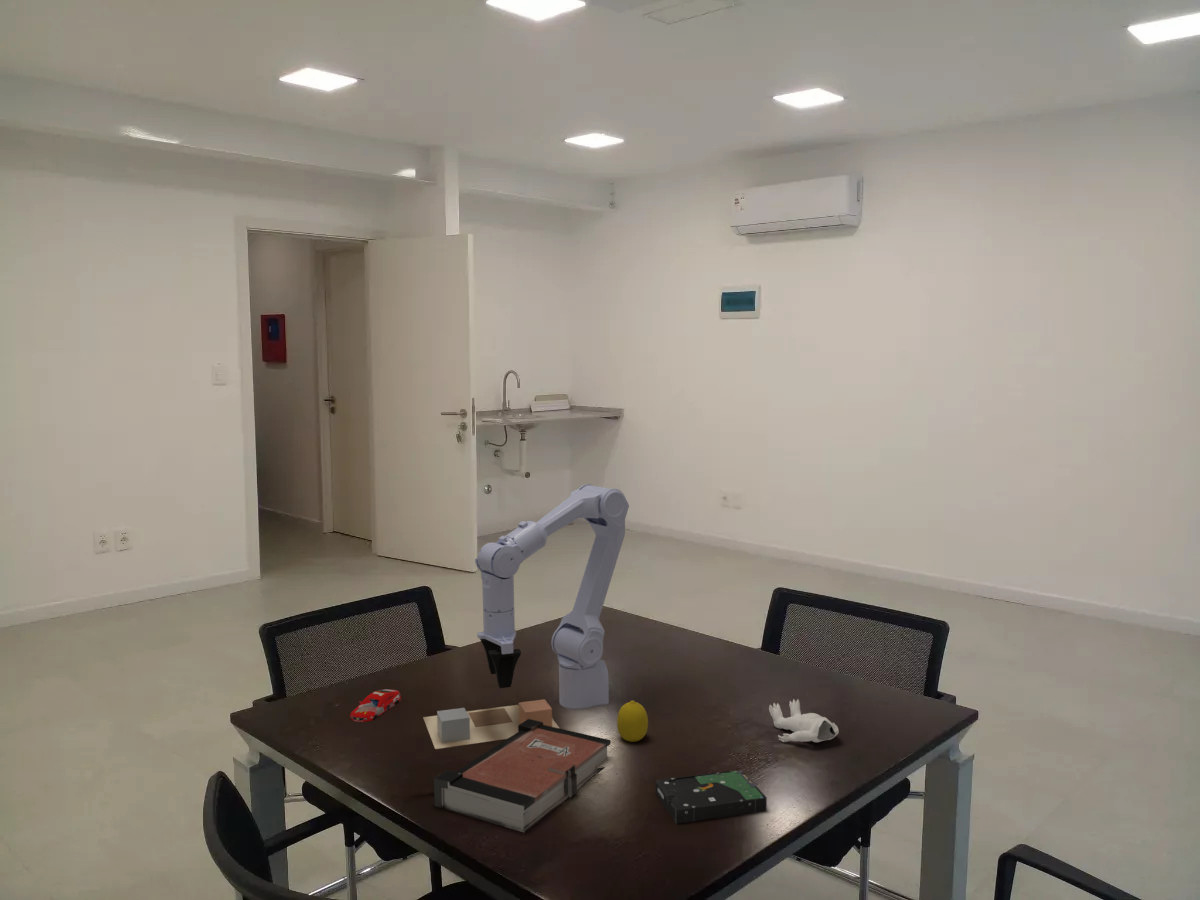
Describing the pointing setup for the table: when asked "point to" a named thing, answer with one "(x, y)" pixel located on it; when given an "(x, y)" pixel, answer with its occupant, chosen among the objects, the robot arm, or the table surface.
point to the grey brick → (453, 725)
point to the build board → (482, 726)
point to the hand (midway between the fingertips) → (500, 680)
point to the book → (522, 776)
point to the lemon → (632, 721)
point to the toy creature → (803, 724)
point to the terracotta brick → (535, 712)
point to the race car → (375, 705)
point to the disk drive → (710, 796)
